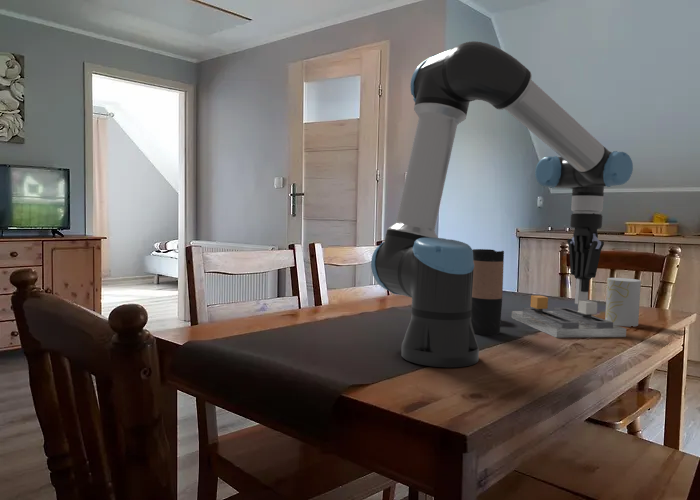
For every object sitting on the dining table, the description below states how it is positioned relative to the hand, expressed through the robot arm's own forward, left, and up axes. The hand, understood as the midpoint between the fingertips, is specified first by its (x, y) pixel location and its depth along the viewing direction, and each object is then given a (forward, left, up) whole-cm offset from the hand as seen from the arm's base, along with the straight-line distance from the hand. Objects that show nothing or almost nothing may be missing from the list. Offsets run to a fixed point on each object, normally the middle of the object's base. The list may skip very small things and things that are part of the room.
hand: (581, 303), depth 146 cm
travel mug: (-28, -5, -6) cm, 29 cm away
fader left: (-9, +6, -4) cm, 11 cm away
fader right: (0, -3, -4) cm, 5 cm away
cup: (+15, +4, -6) cm, 17 cm away
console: (-4, 0, -6) cm, 7 cm away
